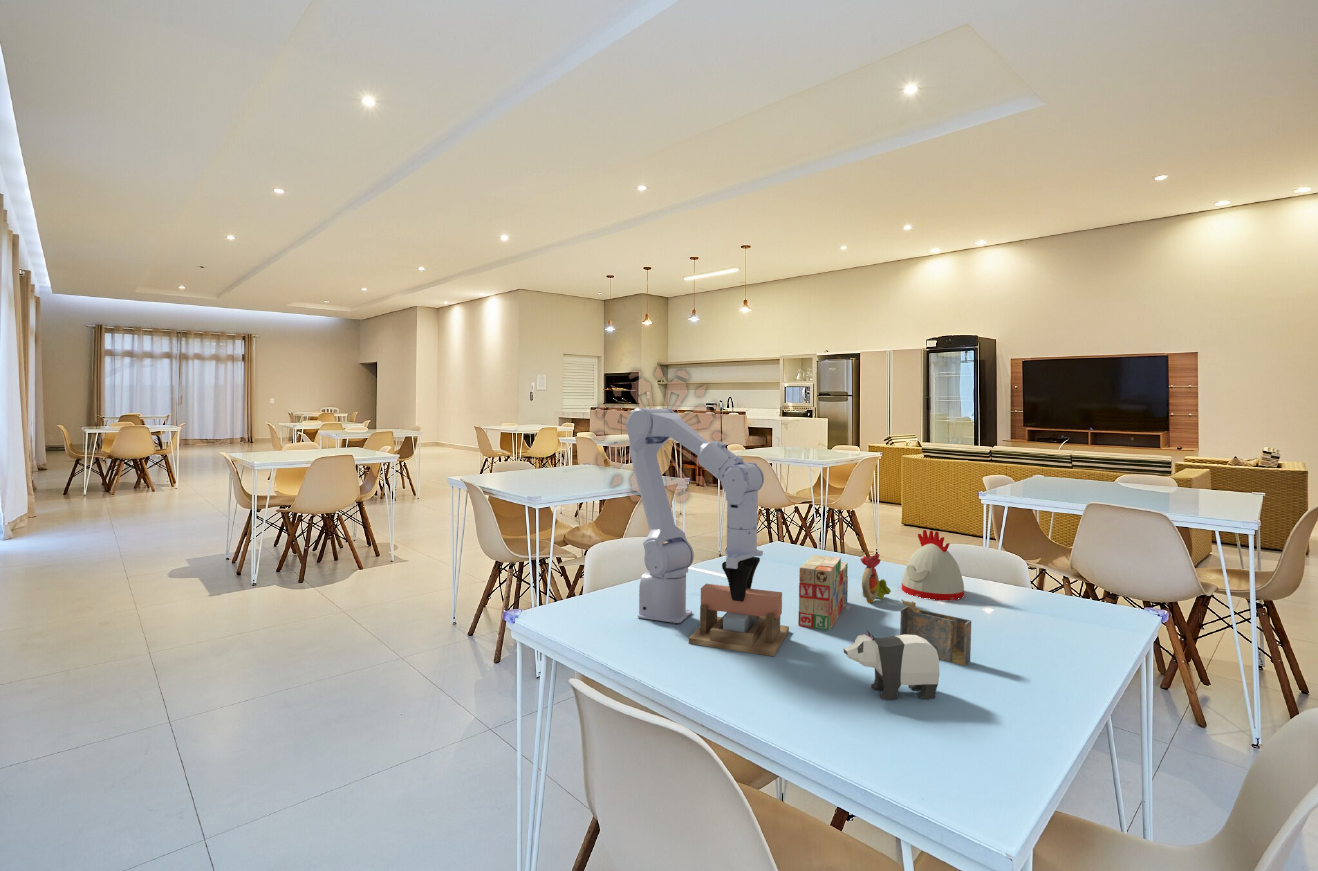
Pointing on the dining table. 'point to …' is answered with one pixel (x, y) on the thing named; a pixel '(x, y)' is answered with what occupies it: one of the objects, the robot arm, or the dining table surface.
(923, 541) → the kitchen timer
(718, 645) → the jig
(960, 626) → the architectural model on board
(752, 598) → the terracotta rectangular bar
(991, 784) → the dining table surface
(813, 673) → the dining table surface
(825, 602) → the stack of blocks
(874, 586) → the bird rattle
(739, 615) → the pale grey pillar block
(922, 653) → the giant panda
